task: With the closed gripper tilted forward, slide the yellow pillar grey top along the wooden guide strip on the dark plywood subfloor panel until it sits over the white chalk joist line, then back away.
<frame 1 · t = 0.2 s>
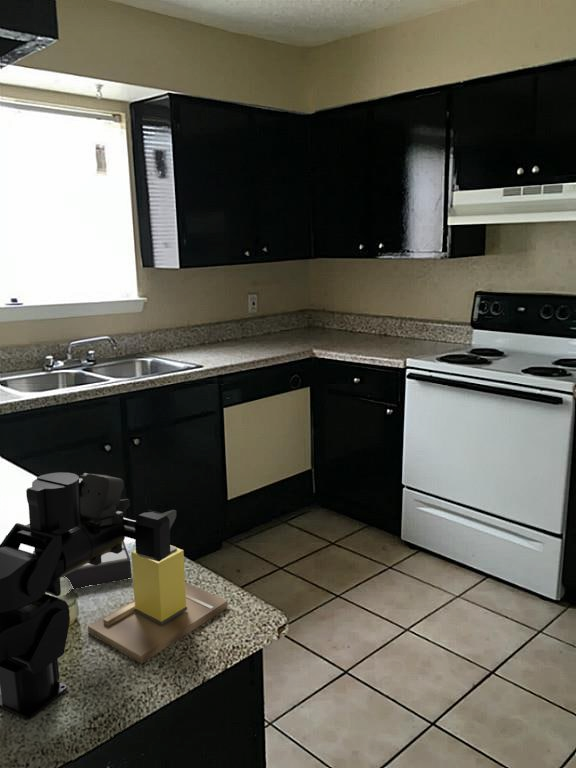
hand: (151, 507, 103), 16 cm above the worktop, tool horizontal, fingers open, 9 cm apart
yellow pillar grey top: (159, 580, 100), point 7 cm above the worktop, slide at 0.0 cm
subfloor panel: (160, 619, 101), on the worktop
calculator: (95, 567, 119), on the worktop
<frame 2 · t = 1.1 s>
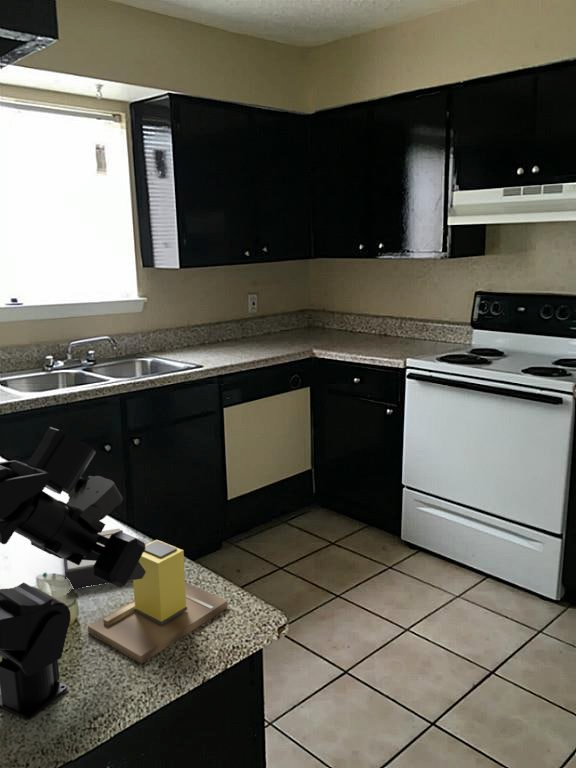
hand: (123, 565, 94), 12 cm above the worktop, tool tilted 45°, fingers open, 8 cm apart
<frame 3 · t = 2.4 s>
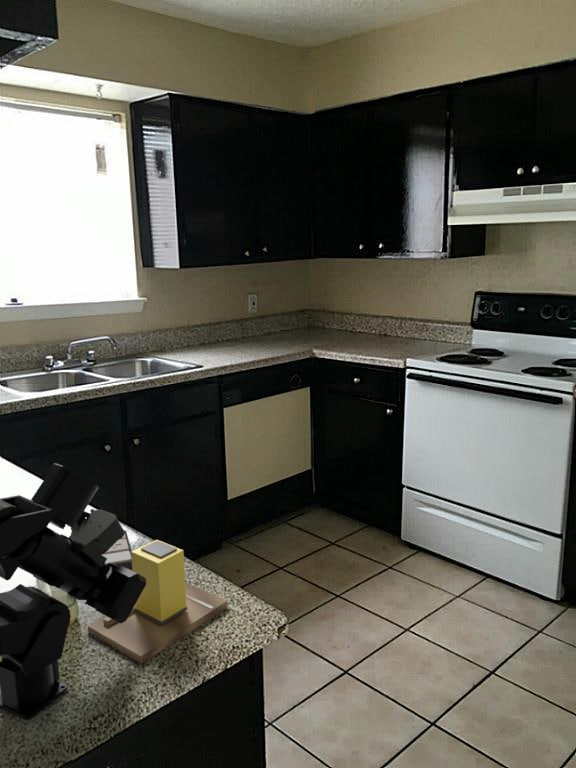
hand: (124, 598, 95), 7 cm above the worktop, tool tilted 45°, fingers closed
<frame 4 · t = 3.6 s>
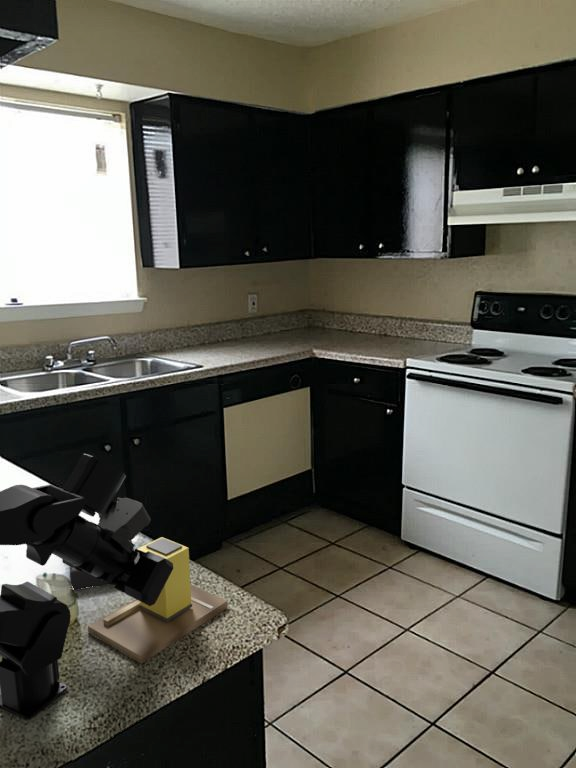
hand: (150, 582, 99), 7 cm above the worktop, tool tilted 45°, fingers closed, pressing on yellow pillar grey top
yellow pillar grey top: (164, 577, 101), point 7 cm above the worktop, slide at 1.1 cm, touching gripper
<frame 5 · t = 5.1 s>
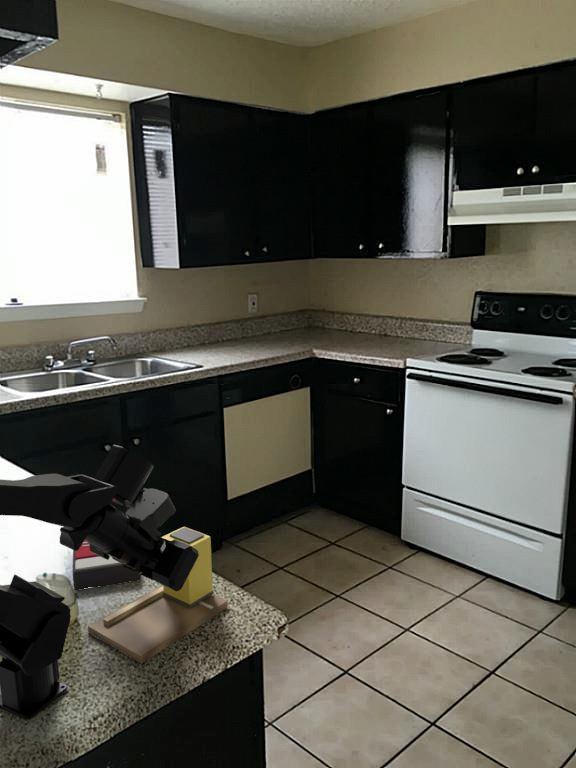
hand: (173, 571, 102), 7 cm above the worktop, tool tilted 45°, fingers closed, pressing on yellow pillar grey top
yellow pillar grey top: (186, 565, 105), point 7 cm above the worktop, slide at 5.8 cm, touching gripper
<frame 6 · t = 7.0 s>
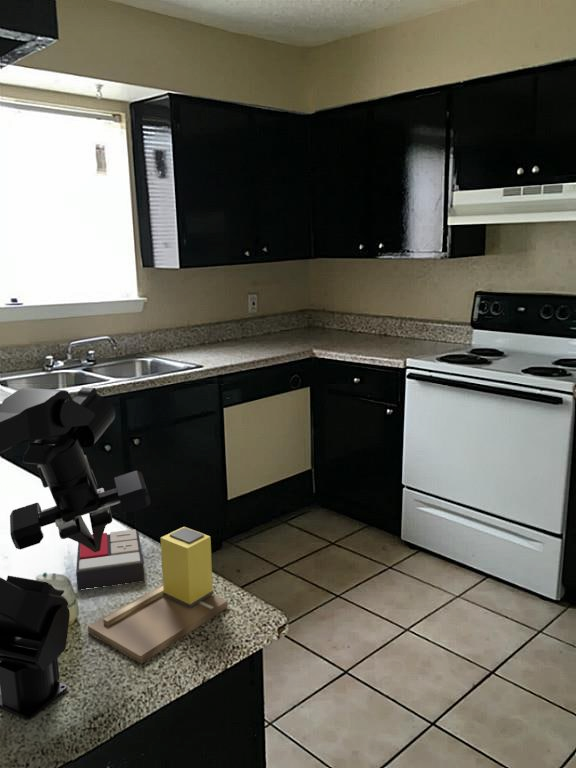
hand: (97, 549, 97), 12 cm above the worktop, tool tilted 20°, fingers closed
yellow pillar grey top: (186, 565, 105), point 7 cm above the worktop, slide at 5.8 cm
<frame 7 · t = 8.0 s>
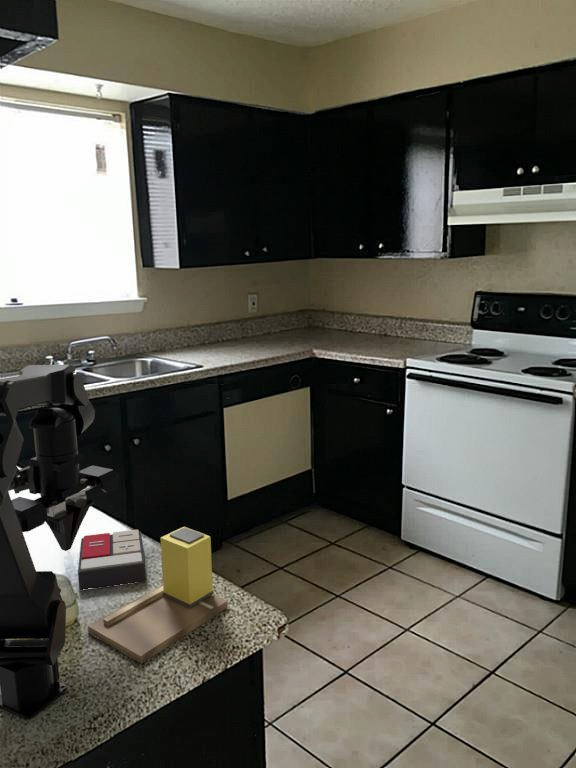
hand: (66, 549, 99), 12 cm above the worktop, tool pointing down, fingers closed
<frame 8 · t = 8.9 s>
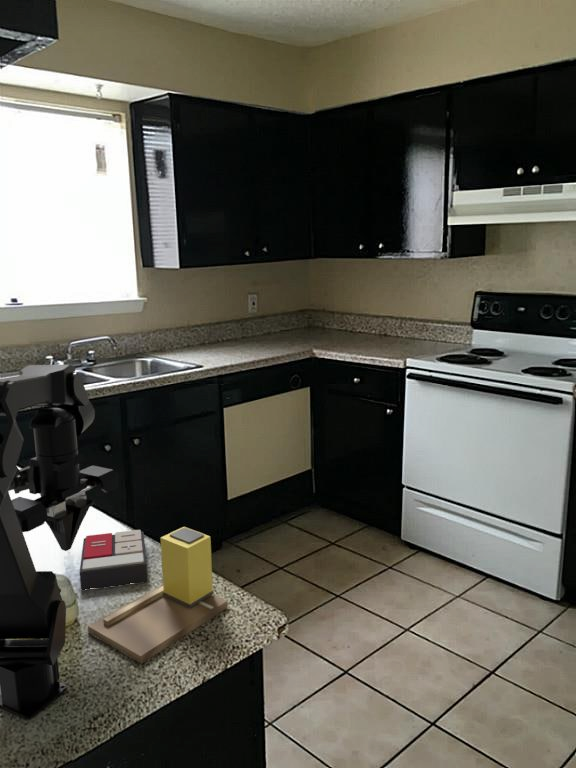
hand: (66, 549, 99), 12 cm above the worktop, tool pointing down, fingers closed
at the end: yellow pillar grey top slide at 5.8 cm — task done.
